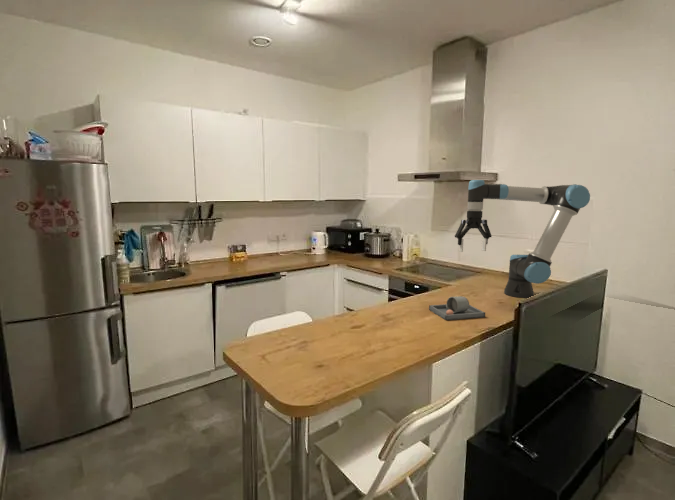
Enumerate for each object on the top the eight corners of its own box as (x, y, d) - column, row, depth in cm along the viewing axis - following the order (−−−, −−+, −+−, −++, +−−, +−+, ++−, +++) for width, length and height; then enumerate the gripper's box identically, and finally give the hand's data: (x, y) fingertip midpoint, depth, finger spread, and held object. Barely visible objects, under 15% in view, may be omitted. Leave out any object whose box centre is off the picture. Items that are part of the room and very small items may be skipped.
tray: (465, 307, 187) (465, 302, 186) (485, 317, 171) (485, 312, 171) (429, 309, 182) (429, 305, 182) (445, 320, 167) (446, 315, 166)
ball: (448, 316, 172) (452, 310, 172) (452, 318, 169) (456, 312, 169) (443, 313, 171) (447, 307, 171) (447, 315, 168) (450, 309, 168)
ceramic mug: (470, 312, 176) (471, 296, 175) (457, 315, 172) (458, 299, 171) (453, 307, 185) (454, 292, 184) (441, 309, 181) (441, 293, 180)
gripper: (491, 210, 199) (488, 249, 202) (449, 210, 193) (447, 250, 196) (500, 210, 191) (497, 251, 194) (457, 210, 185) (454, 252, 189)
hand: (472, 251), depth 195 cm, fingers open, 13 cm apart
